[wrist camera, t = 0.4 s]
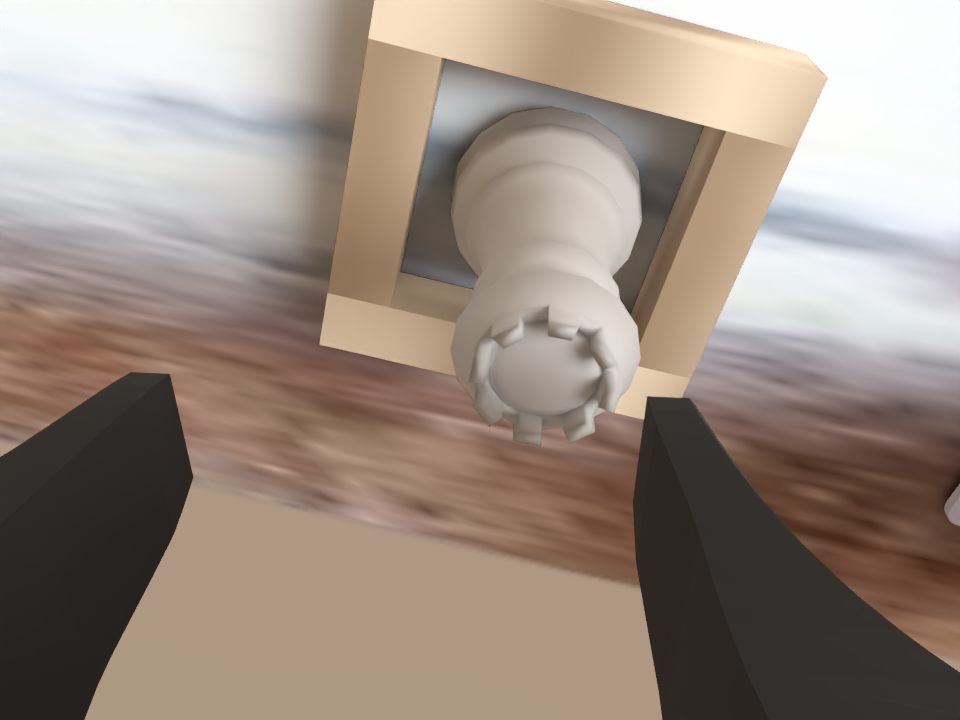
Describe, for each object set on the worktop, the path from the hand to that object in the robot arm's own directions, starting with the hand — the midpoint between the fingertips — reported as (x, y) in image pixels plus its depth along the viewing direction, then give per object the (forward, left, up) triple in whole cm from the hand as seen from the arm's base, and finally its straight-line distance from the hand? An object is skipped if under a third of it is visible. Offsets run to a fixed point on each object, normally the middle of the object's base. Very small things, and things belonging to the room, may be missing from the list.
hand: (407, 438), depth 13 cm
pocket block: (-2, -1, -9) cm, 10 cm away
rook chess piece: (-2, -1, -10) cm, 10 cm away
